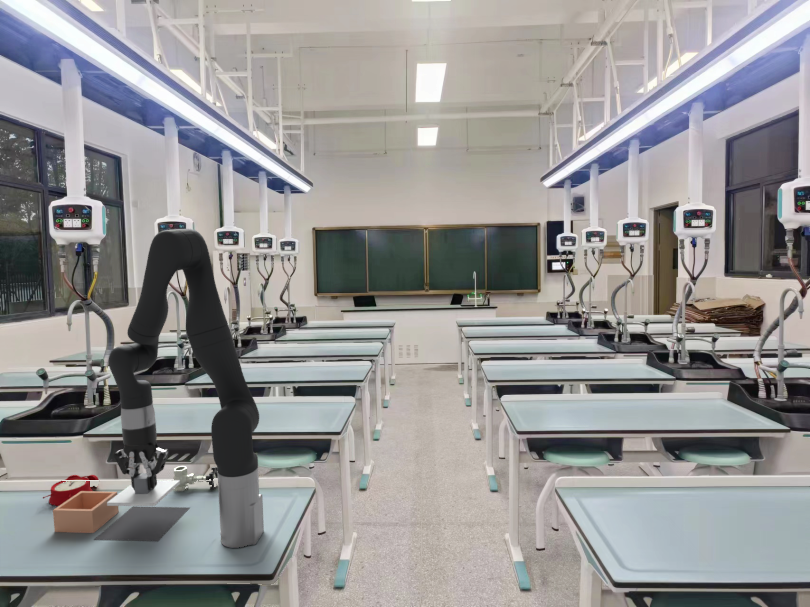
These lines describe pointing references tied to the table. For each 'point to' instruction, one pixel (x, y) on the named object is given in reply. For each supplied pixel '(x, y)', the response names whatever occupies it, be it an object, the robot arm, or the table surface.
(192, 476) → the valve
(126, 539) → the mat
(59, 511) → the tub
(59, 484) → the alarm clock
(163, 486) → the lid
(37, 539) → the table surface
